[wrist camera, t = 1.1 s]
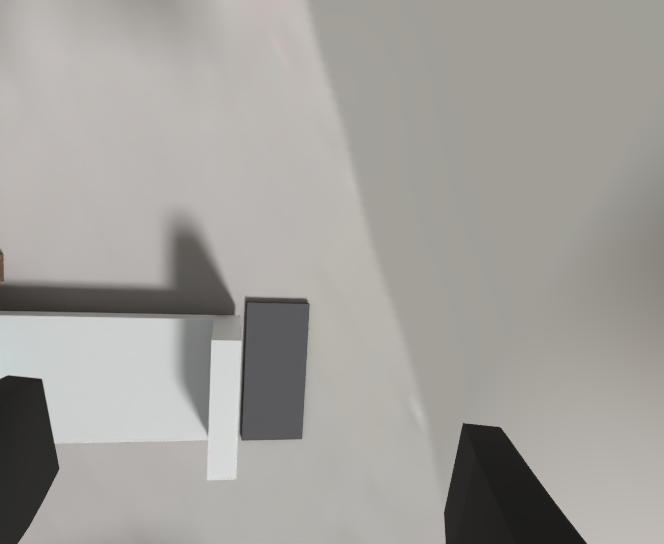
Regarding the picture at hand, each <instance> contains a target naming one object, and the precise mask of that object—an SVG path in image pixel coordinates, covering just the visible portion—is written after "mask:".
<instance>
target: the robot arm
mask: <svg viewBox="0 0 664 544" xmlns="http://www.w3.org/2000/svg"><path fill="white" fill-rule="evenodd" d="M58 471H59V465H58V459H57V454H56V449H55V444H54V438H53V433H52V428H51V423H50V418H49V412H48V407H47V402H46V397H45V391H44V386H43V381H42V379H40V378H30V377H21V376H11V375H7V376H5V377H3V378H1V379H0V544H18V542H19V541H20V539H21V538H22V536H23V535H24V533H25V532H26V530H27V529H28V527H29V526H30V524H31V522H32V520H33V519H34V517H35V515H36V513H37V511H38V509H39V508H40V506H41V504H42V502H43V500H44V498H45V496H46V494H47V492H48V490H49V488H50V486H51V484H52V482H53V481H54V479H55V477H56V475H57V473H58ZM444 518H445V536H446V544H587V543H586V542H585V541H584V539H583V538H582V537H581V536H580V534H579V533H578V532H577V530H576V529H575V528H574V527H573V525H572V524H571V523H570V521H569V520H568V519H567V518H566V516H565V515H564V514H563V512H562V511H561V510H560V508H559V507H558V506H557V505H556V504H555V502H554V501H553V499H552V498H551V497H550V495H549V494H548V492H547V491H546V490H545V488H544V487H543V486H542V484H541V483H540V482H539V480H538V479H537V477H536V476H535V475H534V473H533V472H532V470H531V469H530V468H529V466H528V465H527V463H526V462H525V461H524V459H523V458H522V456H521V455H520V454H519V452H518V451H517V449H516V448H515V447H514V445H513V444H512V442H511V441H510V440H509V438H508V437H507V435H506V434H505V433H504V432H503V430H502V429H501V428H500V427H493V426H483V425H474V424H465V423H463V426H462V430H461V435H460V440H459V445H458V450H457V454H456V459H455V464H454V468H453V473H452V478H451V483H450V488H449V492H448V497H447V502H446V506H445V511H444Z"/></svg>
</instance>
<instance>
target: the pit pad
mask: <svg viewBox="0 0 664 544" xmlns="http://www.w3.org/2000/svg"><path fill="white" fill-rule="evenodd" d="M308 322H309V303H271V302H247V321H246V346H245V370H244V395H243V420H242V440H285V439H302V430H303V412H304V394H305V376H306V358H307V340H308Z"/></svg>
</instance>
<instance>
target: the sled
mask: <svg viewBox="0 0 664 544" xmlns="http://www.w3.org/2000/svg"><path fill="white" fill-rule="evenodd" d="M241 341H242V340H241V327H240V316H239V315H189V314H139V313H89V312H38V311H0V379H1V378H3V377H5V376H7V375H11V376H21V377H30V378H40V379H42V381H43V386H44V391H45V397H46V402H47V407H48V412H49V418H50V423H51V428H52V433H53V438H54V444H60V443H106V442H151V441H197V440H208V461H207V480H229V479H236V468H237V443H238V417H239V392H240V367H241Z"/></svg>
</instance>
